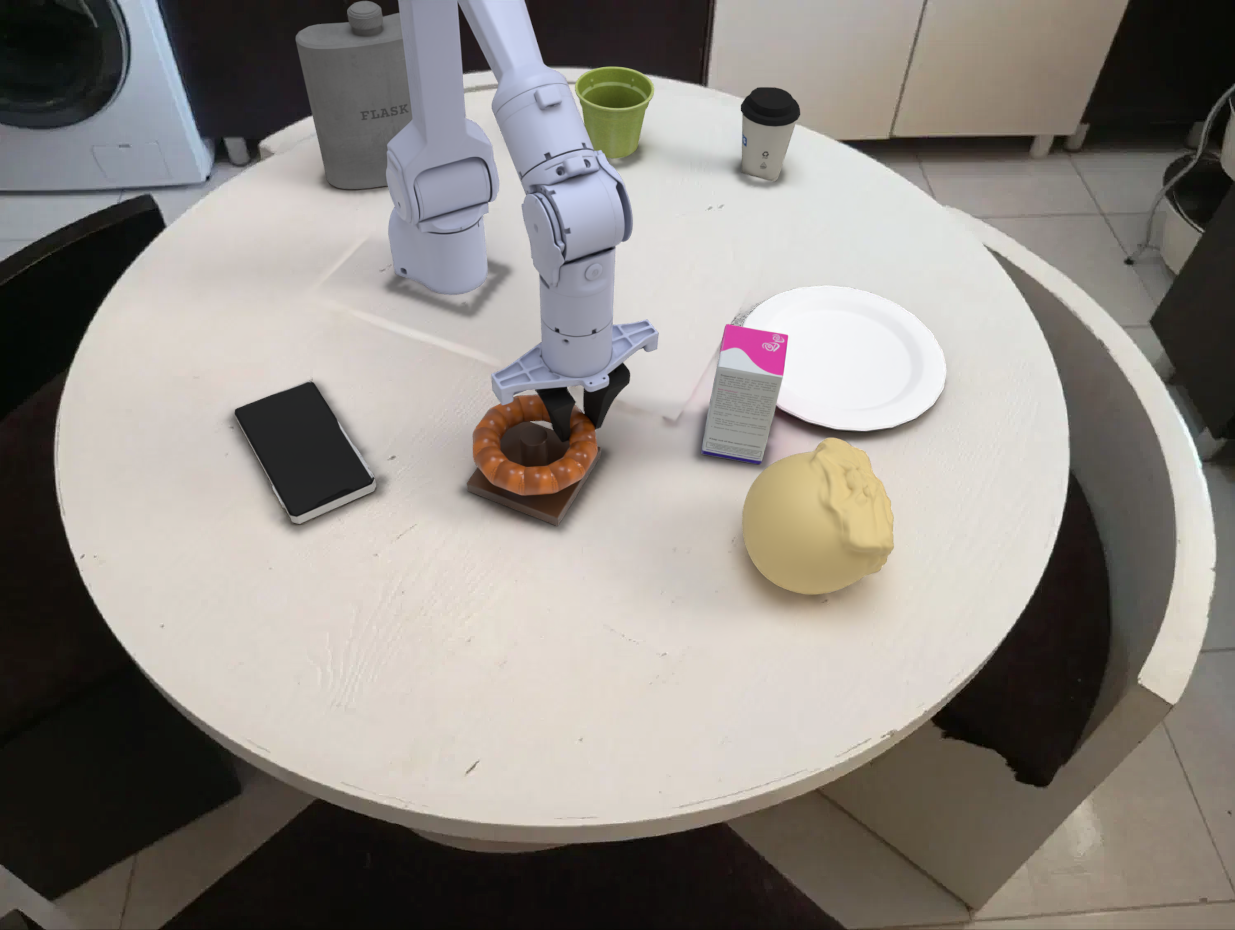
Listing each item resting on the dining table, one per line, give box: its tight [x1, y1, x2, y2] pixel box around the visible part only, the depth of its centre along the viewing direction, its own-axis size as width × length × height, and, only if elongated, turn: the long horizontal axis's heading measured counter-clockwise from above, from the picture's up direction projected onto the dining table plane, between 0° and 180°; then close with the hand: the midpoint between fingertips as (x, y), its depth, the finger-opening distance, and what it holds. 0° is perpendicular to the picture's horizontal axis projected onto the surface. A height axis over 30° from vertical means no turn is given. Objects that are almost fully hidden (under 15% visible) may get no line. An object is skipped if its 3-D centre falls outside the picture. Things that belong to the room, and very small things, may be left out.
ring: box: [472, 393, 598, 495], centre depth 87 cm, size 11×11×2 cm
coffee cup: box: [740, 86, 801, 183], centre depth 117 cm, size 7×7×10 cm
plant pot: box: [574, 66, 655, 159], centre depth 120 cm, size 9×9×9 cm
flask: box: [295, 0, 413, 190], centre depth 111 cm, size 15×6×20 cm, turn 112°
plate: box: [741, 284, 948, 433], centre depth 100 cm, size 21×21×2 cm
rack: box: [466, 421, 602, 527], centre depth 88 cm, size 9×9×5 cm
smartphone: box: [234, 380, 377, 525], centre depth 90 cm, size 8×1×15 cm
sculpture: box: [741, 437, 895, 595], centre depth 81 cm, size 11×12×11 cm
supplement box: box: [700, 323, 788, 465], centre depth 89 cm, size 6×6×12 cm
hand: (576, 427), depth 88 cm, fingers closed on ring, 3 cm apart
